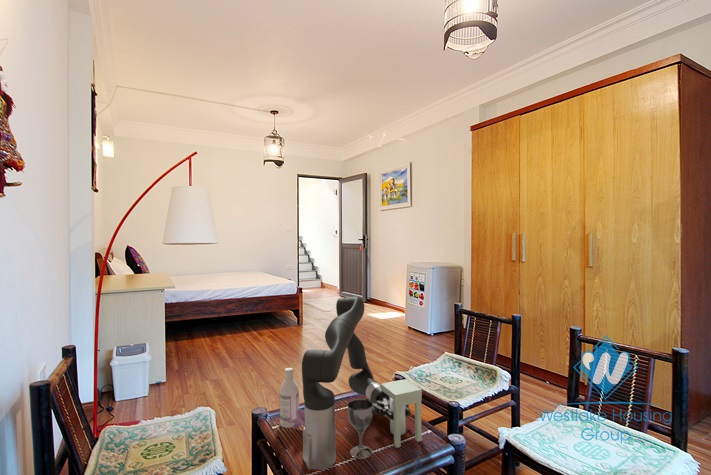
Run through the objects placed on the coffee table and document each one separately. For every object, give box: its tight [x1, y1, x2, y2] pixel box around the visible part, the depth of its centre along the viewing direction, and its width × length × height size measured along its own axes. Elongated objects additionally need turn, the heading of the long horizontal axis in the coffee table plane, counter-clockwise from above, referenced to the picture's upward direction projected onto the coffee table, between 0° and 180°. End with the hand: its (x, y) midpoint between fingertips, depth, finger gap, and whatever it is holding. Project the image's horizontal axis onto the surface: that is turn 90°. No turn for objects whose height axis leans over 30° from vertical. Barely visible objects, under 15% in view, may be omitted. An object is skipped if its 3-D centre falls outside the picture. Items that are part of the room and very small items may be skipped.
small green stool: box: [380, 378, 423, 448], centre depth 122 cm, size 10×10×17 cm
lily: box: [287, 408, 305, 430], centre depth 125 cm, size 12×12×10 cm
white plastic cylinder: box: [389, 398, 407, 436], centre depth 124 cm, size 5×5×11 cm
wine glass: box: [347, 398, 374, 460], centre depth 114 cm, size 8×8×15 cm
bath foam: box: [279, 367, 300, 429], centre depth 132 cm, size 7×7×20 cm
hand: (401, 415), depth 122 cm, fingers closed on white plastic cylinder, 5 cm apart
